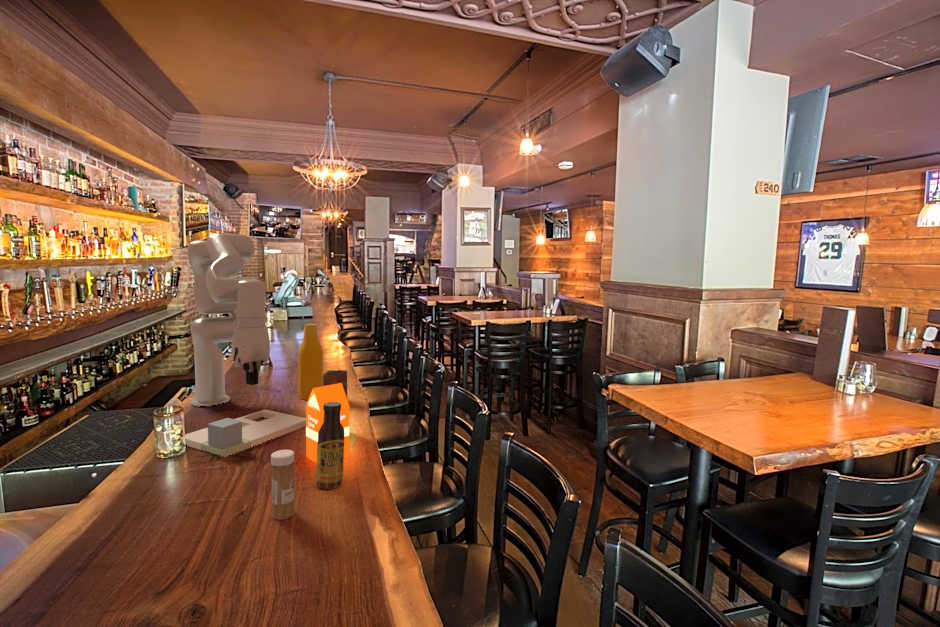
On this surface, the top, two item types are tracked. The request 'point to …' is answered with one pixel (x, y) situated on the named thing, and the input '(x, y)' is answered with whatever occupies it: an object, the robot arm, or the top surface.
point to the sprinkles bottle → (283, 484)
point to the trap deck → (250, 431)
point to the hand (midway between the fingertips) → (252, 383)
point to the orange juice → (317, 416)
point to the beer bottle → (310, 362)
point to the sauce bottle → (330, 448)
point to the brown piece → (336, 378)
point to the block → (224, 433)
